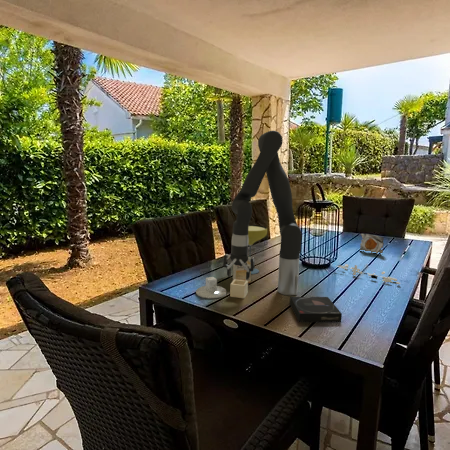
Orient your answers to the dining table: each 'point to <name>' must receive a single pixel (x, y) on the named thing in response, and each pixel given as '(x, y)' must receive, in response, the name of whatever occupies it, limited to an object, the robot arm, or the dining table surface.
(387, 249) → the dining table surface
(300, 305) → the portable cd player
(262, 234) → the cocktail glass
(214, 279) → the duct stub
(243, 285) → the collar
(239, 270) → the supplement box
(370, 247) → the meal
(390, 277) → the miniature set
